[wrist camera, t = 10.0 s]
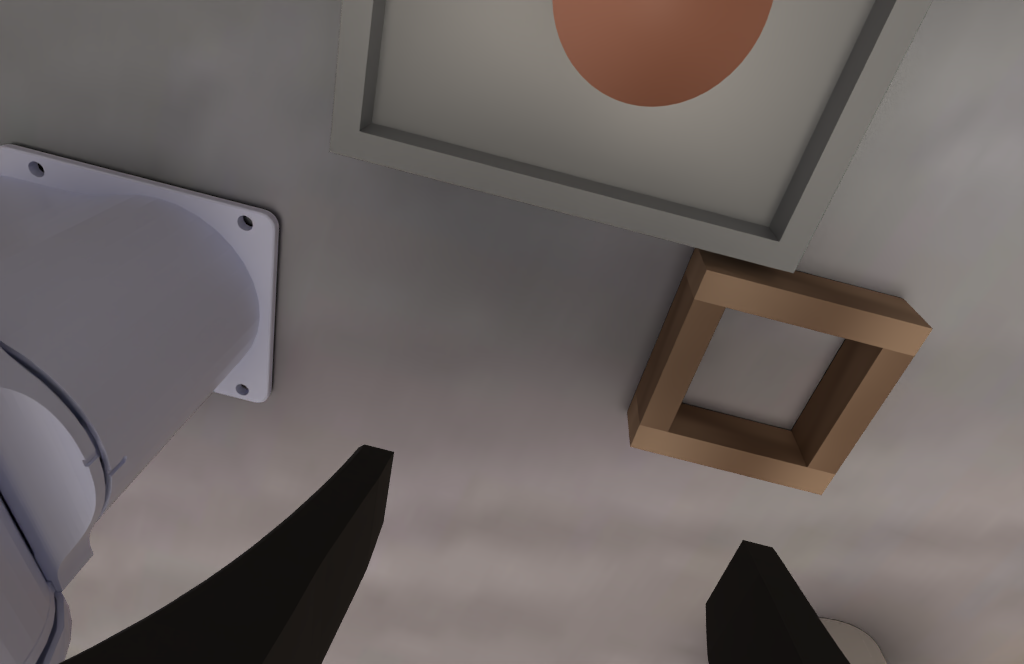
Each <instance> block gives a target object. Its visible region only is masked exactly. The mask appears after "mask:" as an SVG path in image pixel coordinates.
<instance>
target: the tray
mask: <svg viewBox="0 0 1024 664" xmlns="http://www.w3.org/2000/svg"><path fill="white" fill-rule="evenodd" d="M932 2H933V0H773V3H772V7H771V10H770V13H769V16H768V19H767V21H766V24H765V26H764V28H763V30H762V32H761V34H760V36H759V38H758V40H757V41H756V43H755V45H754V46H753V48H752V50H751V51H750V52H749V54H748V55H747V56H746V58H745V59H744V60H743V62H742V63H741V64H740V65H739V66H738V67H737V68H736V69H735V70H734V71H733V72H732V73H731V74H730V75H729V76H728V77H726V78H725V79H724V80H723V81H722V82H720V83H719V84H718V85H716V86H715V87H713V88H712V89H710V90H709V91H707V92H705V93H703V94H701V95H699V96H697V97H695V98H693V99H690V100H687V101H684V102H681V103H678V104H673V105H668V106H658V107H646V106H636V105H631V104H626V103H624V102H621V101H618V100H615V99H613V98H611V97H609V96H607V95H605V94H603V93H601V92H600V91H599V90H597V89H596V88H594V87H593V86H592V85H591V84H589V83H588V82H587V81H586V80H585V79H584V78H583V77H582V76H581V75H580V74H579V72H578V71H577V70H576V69H575V67H574V66H573V65H572V63H571V61H570V60H569V58H568V56H567V55H566V53H565V51H564V48H563V46H562V44H561V42H560V39H559V36H558V32H557V29H556V25H555V20H554V14H553V2H552V0H342V8H341V20H340V32H339V44H338V55H337V67H336V79H335V91H334V103H333V115H332V127H331V138H330V150H329V152H332V153H335V154H339V155H343V156H347V157H351V158H354V159H358V160H362V161H366V162H370V163H374V164H377V165H381V166H385V167H389V168H393V169H397V170H400V171H404V172H408V173H412V174H416V175H419V176H423V177H427V178H431V179H435V180H439V181H442V182H446V183H450V184H454V185H458V186H462V187H465V188H469V189H473V190H477V191H481V192H484V193H488V194H492V195H496V196H500V197H504V198H507V199H511V200H515V201H519V202H523V203H527V204H530V205H534V206H538V207H542V208H546V209H549V210H553V211H557V212H561V213H565V214H569V215H572V216H576V217H580V218H584V219H588V220H592V221H595V222H599V223H603V224H607V225H611V226H614V227H618V228H622V229H626V230H630V231H634V232H637V233H641V234H645V235H649V236H653V237H657V238H660V239H664V240H668V241H672V242H676V243H679V244H683V245H687V246H691V247H695V248H699V249H702V250H706V251H710V252H714V253H718V254H722V255H725V256H729V257H733V258H737V259H741V260H744V261H748V262H752V263H756V264H760V265H764V266H767V267H771V268H775V269H779V270H783V271H787V272H790V273H794V272H795V270H796V268H797V266H798V264H799V262H800V260H801V258H802V256H803V254H804V252H805V250H806V248H807V246H808V244H809V242H810V240H811V238H812V236H813V234H814V232H815V230H816V229H817V227H818V225H819V223H820V221H821V219H822V217H823V215H824V213H825V211H826V209H827V207H828V205H829V203H830V201H831V199H832V197H833V195H834V193H835V191H836V189H837V187H838V185H839V184H840V182H841V180H842V178H843V176H844V174H845V172H846V170H847V168H848V166H849V164H850V162H851V160H852V158H853V156H854V154H855V152H856V150H857V148H858V146H859V144H860V142H861V140H862V138H863V137H864V135H865V133H866V131H867V129H868V127H869V125H870V123H871V121H872V119H873V117H874V115H875V113H876V111H877V109H878V107H879V105H880V103H881V101H882V99H883V97H884V95H885V93H886V92H887V90H888V88H889V86H890V84H891V82H892V80H893V78H894V76H895V74H896V72H897V70H898V68H899V66H900V64H901V62H902V60H903V58H904V56H905V54H906V52H907V50H908V48H909V47H910V45H911V43H912V41H913V39H914V37H915V35H916V33H917V31H918V29H919V27H920V25H921V23H922V21H923V19H924V17H925V15H926V13H927V11H928V9H929V7H930V5H931V3H932Z"/></svg>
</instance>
